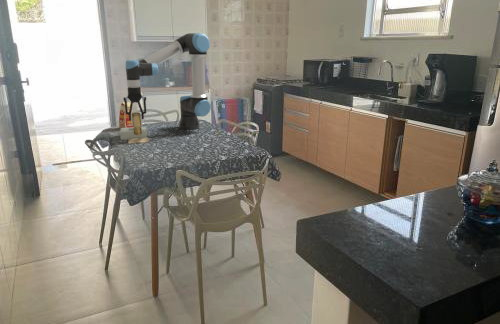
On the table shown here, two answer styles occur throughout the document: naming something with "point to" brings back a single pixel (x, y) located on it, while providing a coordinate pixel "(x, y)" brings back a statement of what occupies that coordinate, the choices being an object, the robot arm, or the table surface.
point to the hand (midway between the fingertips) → (137, 124)
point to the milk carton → (125, 116)
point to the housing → (132, 133)
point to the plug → (137, 123)
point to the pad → (138, 140)
